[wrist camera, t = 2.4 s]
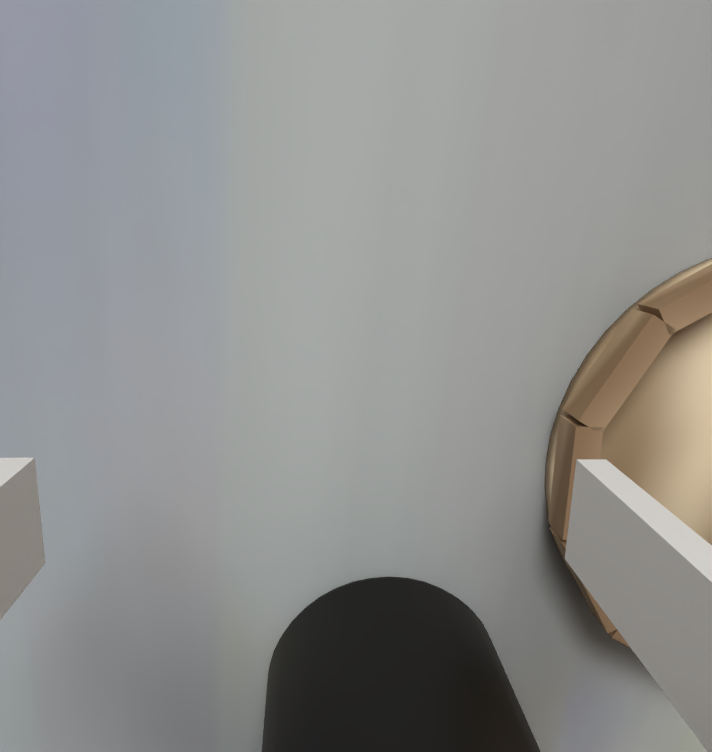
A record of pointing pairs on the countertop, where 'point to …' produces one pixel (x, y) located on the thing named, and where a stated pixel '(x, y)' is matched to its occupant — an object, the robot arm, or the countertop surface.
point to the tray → (643, 410)
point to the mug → (390, 676)
